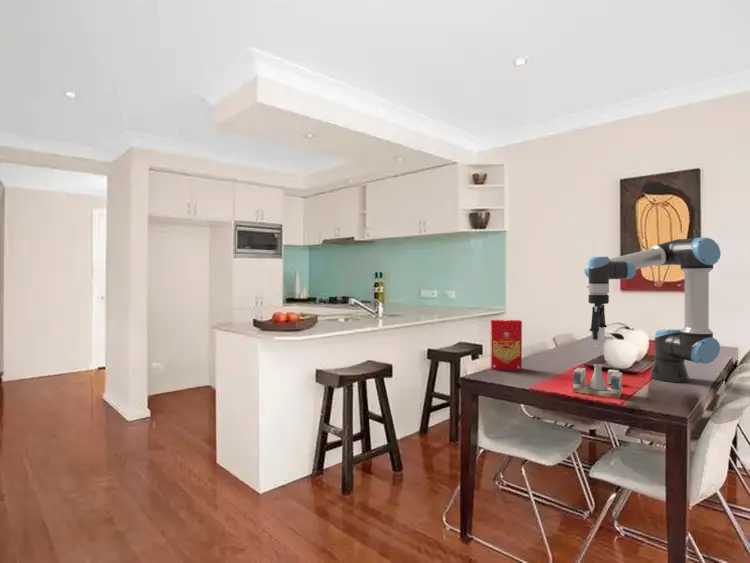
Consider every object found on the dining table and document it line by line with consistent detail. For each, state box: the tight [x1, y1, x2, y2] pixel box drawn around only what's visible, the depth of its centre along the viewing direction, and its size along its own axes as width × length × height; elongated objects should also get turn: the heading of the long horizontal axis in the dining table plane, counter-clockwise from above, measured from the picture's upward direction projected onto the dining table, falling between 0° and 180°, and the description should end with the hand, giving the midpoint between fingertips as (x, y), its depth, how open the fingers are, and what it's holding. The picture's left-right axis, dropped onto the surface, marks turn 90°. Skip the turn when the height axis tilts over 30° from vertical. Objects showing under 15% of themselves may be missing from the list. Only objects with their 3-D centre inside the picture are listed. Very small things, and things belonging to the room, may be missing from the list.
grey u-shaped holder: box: [572, 367, 623, 399], centre depth 188 cm, size 17×10×9 cm, turn 55°
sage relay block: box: [606, 369, 620, 385], centre depth 202 cm, size 4×5×6 cm
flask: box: [587, 363, 608, 390], centre depth 188 cm, size 7×7×10 cm
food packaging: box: [490, 319, 523, 371], centre depth 233 cm, size 15×5×25 cm, turn 82°
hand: (598, 345), depth 188 cm, fingers open, 13 cm apart
